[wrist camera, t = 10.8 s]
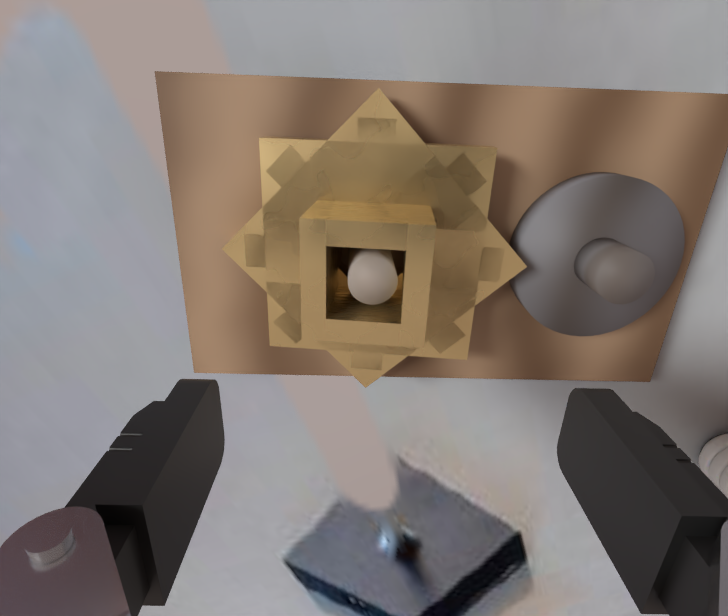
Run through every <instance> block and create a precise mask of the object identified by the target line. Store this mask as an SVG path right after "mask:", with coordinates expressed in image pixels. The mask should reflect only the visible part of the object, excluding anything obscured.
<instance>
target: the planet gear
mask: <svg viewBox="0 0 728 616" xmlns="http://www.w3.org/2000/svg"><path fill="white" fill-rule="evenodd" d="M259 150H260V169H261V188H262V208H261V209H260V210H259V211H258V212H257V213H256V214H255V215H254V216H253V217H252V218H251V219H250V220H249V221H248V222H247V223H246V224H245V225H244V226H243V227H242V228H241V230H240V231H239V232H238V233H237V234H236V235H235V236H234V237H233V238H232V239H231V240H230V241H229V242H228V243H227V244H226V245H225V246H224V247H223V248H222V250H223V251H224V252H225V253H226V254H227V255H228V256H229V257H231V258H232V259H233V260H234V261H235V262H236V263H237V264H238V265H239V266H240V267H241V268H242V269H243V270H244V271H245V272H246V273H247V274H248V275H249V276H250V277H251V278H252V279H253V280H254V281H255V282H256V283H258V284H259V285H260V286H261V287H262V288H263V289H264V290H265V291H266V292H267V303H268V322H269V341H270V346H278V347H292V348H306V349H320V350H327V351H328V352H329V353H330V354H331V355H332V356H333V357H334V358H335V359H336V360H337V361H338V362H339V363H340V364H342V365H343V366H344V367H345V368H346V369H347V370H348V371H349V372H350V373H351V374H352V375H353V376H354V377H355V378H356V379H357V380H358V381H359V382H360V383H361V384H362V385H363V386H364V387H365V388H366V387H367V386H369V385H370V384H371V383H373V382H374V381H375V380H377V379H378V378H379V377H381V376H382V375H383V374H385V373H386V372H387V371H389V370H390V369H391V368H393V367H394V366H395V365H397V364H398V363H399V362H401V361H402V360H403V359H405V358H406V357H407V356H418V357H432V358H446V359H460V360H467V357H468V350H469V343H470V336H471V329H472V322H473V315H474V308H475V305H477V304H478V303H479V302H481V301H482V300H483V299H485V298H486V297H487V296H489V295H490V294H491V293H493V292H494V291H495V290H497V289H498V288H499V287H501V286H502V285H503V284H505V283H506V282H507V281H509V280H510V279H511V278H513V277H514V276H515V275H517V274H518V273H519V272H521V271H522V270H523V269H525V268H526V267H527V266H526V265H525V263H524V262H523V261H522V260H521V258H520V257H519V256H518V255H517V254H516V252H515V251H514V250H513V249H512V248H511V246H510V245H509V244H508V243H507V242H506V240H505V239H504V238H503V237H502V236H501V234H500V233H499V232H498V231H497V230H496V228H495V227H494V226H493V225H492V223H491V222H490V221H489V220H488V219H487V217H488V210H489V203H490V196H491V189H492V182H493V175H494V168H495V161H496V154H497V147H494V146H482V145H458V144H434V143H424V142H423V140H422V139H421V138H420V137H419V136H418V134H417V133H416V132H415V131H414V129H413V128H412V127H411V126H410V125H409V123H408V122H407V121H406V120H405V119H404V117H403V116H402V115H401V114H400V113H399V111H398V110H397V109H396V108H395V107H394V105H393V104H392V103H391V102H390V101H389V99H388V98H387V97H386V96H385V95H384V93H383V92H382V91H381V90H380V89H379V88H378V89H377V90H376V91H375V92H374V93H373V94H372V95H371V96H370V97H369V98H368V99H367V100H366V101H365V102H364V103H363V104H362V105H361V106H360V107H359V108H358V109H357V110H356V111H355V112H354V114H353V115H352V116H351V117H350V118H349V119H348V120H347V121H346V122H345V123H344V124H343V125H342V126H341V127H340V128H339V129H338V130H337V131H336V132H335V133H334V134H333V135H332V136H331V137H330V138H329V139H317V138H293V137H270V136H266V137H260V138H259ZM342 247H350V248H368V249H385V250H403V251H404V257H403V265H402V266H401V267H399V268H398V269H397V270H396V273H397V278H398V283H397V288H396V290H395V292H394V294H393V295H392V296H391V297H390V298H389V299H388V300H387V301H385V302H383V303H380V304H375V305H370V304H365V303H362V302H360V301H358V300H357V299H356V298H354V296H353V295H352V294H351V292H350V290H349V287H348V267H347V266H346V265H345V264H344V262H343V261H342Z"/></svg>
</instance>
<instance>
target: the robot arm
mask: <svg viewBox="0 0 728 616" xmlns="http://www.w3.org/2000/svg"><path fill="white" fill-rule="evenodd" d="M223 452H224V428H223V419H222V411H221V402H220V393H219V386H218V383H217V381H216V380H207V379H180V380H179V381H178V382H177V384H176V385H175V387H174V388H173V390H172V391H171V393H170V394H169V395H168V397H167V398H166V400H165V401H153V402H152V403H150V404H149V405H148V406H146V407H145V408H143V409H142V410H140V411H139V412H138V413H136V414H135V415H133V417H132V418H131V419H130V421H129V422H128V423H127V425H126V426H125V427H124V429H123V430H122V431H121V434H120V436H118V437H117V438H116V439H115V441H114V442H113V443H112V445H111V446H110V450H109V451H106V453H105V454H104V455H103V457H102V458H101V459H100V461H99V462H98V463H97V465H96V466H95V467H94V469H93V470H92V471H91V473H90V474H89V475H88V477H87V478H86V480H85V481H84V482H83V484H82V485H81V486H80V488H79V489H78V490H77V492H76V493H75V494H74V496H73V497H72V498H71V500H70V501H69V502H68V504H67V505H66V506H65V508H61V509H57V510H53V511H51V512H48V513H45V514H43V515H41V516H38V517H36V518H35V519H33V520H31V521H29V522H27V523H26V524H25V525H23V526H22V527H20V528H19V529H18V530H16V531H15V532H14V533H13V534H12V535H11V536H10V537H9V538H8V539H7V540H6V541H5V542H4V543H3V544H2V546H1V547H0V616H138V614H139V612H140V609H141V607H142V605H150V606H165V603H166V601H167V598H168V596H169V593H170V591H171V588H172V586H173V583H174V580H175V578H176V575H177V573H178V570H179V568H180V565H181V563H182V560H183V558H184V555H185V553H186V550H187V548H188V545H189V543H190V540H191V538H192V535H193V533H194V530H195V528H196V525H197V523H198V520H199V518H200V515H201V513H202V510H203V507H204V505H205V502H206V500H207V497H208V495H209V492H210V490H211V487H212V485H213V482H214V480H215V477H216V475H217V472H218V470H219V467H220V465H221V461H222V457H223ZM557 456H558V462H559V466H560V469H561V471H562V473H563V475H564V477H565V478H566V480H567V482H568V484H569V486H570V487H571V489H572V491H573V493H574V494H575V496H576V498H577V500H578V502H579V503H580V505H581V507H582V509H583V511H584V512H585V514H586V516H587V518H588V520H589V521H590V523H591V525H592V527H593V529H594V530H595V532H596V534H597V536H598V538H599V539H600V541H601V543H602V545H603V546H604V548H605V550H606V552H607V554H608V555H609V557H610V559H611V561H612V563H613V564H614V566H615V568H616V570H617V572H618V573H619V575H620V577H621V579H622V581H623V582H624V584H625V586H626V588H627V589H628V591H629V593H630V595H631V597H632V598H633V600H634V602H635V604H636V606H637V607H638V609H639V611H640V613H641V614H669V616H728V498H727V497H726V496H725V495H724V494H723V493H722V492H721V491H720V490H719V489H718V488H717V487H716V486H715V485H714V484H713V483H712V481H711V480H710V479H709V478H708V477H707V476H706V475H705V474H704V473H703V472H702V471H701V470H700V469H699V468H698V467H697V466H696V465H695V464H694V463H691V459H690V458H689V457H688V456H687V455H686V454H685V453H684V452H683V451H682V450H681V449H680V448H677V446H676V443H675V442H674V441H673V440H672V439H671V438H670V437H669V436H668V435H667V434H666V433H665V432H664V431H663V430H662V429H661V428H660V427H659V426H658V425H656V424H654V423H653V422H651V421H650V420H648V419H647V418H645V417H644V416H642V415H640V414H639V413H637V412H632V411H631V410H630V408H629V407H628V406H627V405H626V404H625V403H624V402H623V401H622V400H621V398H620V397H619V396H618V395H617V394H616V393H615V392H614V391H613V390H611V389H587V388H576V389H574V390H572V392H571V393H570V396H569V399H568V403H567V407H566V411H565V415H564V419H563V423H562V428H561V432H560V436H559V440H558V445H557Z"/></svg>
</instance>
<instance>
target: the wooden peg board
mask: <svg viewBox="0 0 728 616" xmlns="http://www.w3.org/2000/svg"><path fill="white" fill-rule="evenodd" d="M155 77H156V85H157V92H158V100H159V108H160V114H161V123H162V131H163V138H164V146H165V154H166V161H167V169H168V177H169V184H170V192H171V199H172V207H173V215H174V222H175V230H176V238H177V245H178V253H179V260H180V268H181V276H182V283H183V291H184V299H185V306H186V314H187V321H188V329H189V337H190V344H191V352H192V360H193V367H194V373H234V374H286V375H287V374H289V375H336V376H338V375H339V376H353V375H352V374H351V373H350V372H349V371H348V370H347V369H346V368H345V367H344V366H343V365H342V364H340V363H339V362H338V361H337V360H336V359H335V358H334V357H333V356H332V355H331V354H330V353H329V352H328V351H327V350H320V349H306V348H292V347H278V346H270V341H269V322H268V303H267V292H266V291H265V290H264V289H263V288H262V287H261V286H260V285H259V284H258V283H256V282H255V281H254V280H253V279H252V278H251V277H250V276H249V275H248V274H247V273H246V272H245V271H244V270H243V269H242V268H241V267H240V266H239V265H238V264H237V263H236V262H235V261H234V260H233V259H232V258H231V257H229V256H228V255H227V254H226V253H225V252H224V251H223V250H222V248H223V247H224V246H225V245H226V244H227V243H228V242H229V241H230V240H231V239H232V238H233V237H234V236H235V235H236V234H237V233H238V232H239V231H240V230H241V228H242V227H243V226H244V225H245V224H246V223H247V222H248V221H249V220H250V219H251V218H252V217H253V216H254V215H255V214H256V213H257V212H258V211H259V210H260V209H261V208H262V188H261V169H260V150H259V138H260V137H266V136H270V137H293V138H317V139H329V138H330V137H331V136H332V135H333V134H334V133H335V132H336V131H337V130H338V129H339V128H340V127H341V126H342V125H343V124H344V123H345V122H346V121H347V120H348V119H349V118H350V117H351V116H352V115H353V114H354V112H355V111H356V110H357V109H358V108H359V107H360V106H361V105H362V104H363V103H364V102H365V101H366V100H367V99H368V98H369V97H370V96H371V95H372V94H373V93H374V92H375V91H376V90H377V89H378V88H379V89H380V90H381V91H382V92H383V93H384V95H385V96H386V97H387V98H388V99H389V101H390V102H391V103H392V104H393V105H394V107H395V108H396V109H397V110H398V111H399V113H400V114H401V115H402V116H403V117H404V119H405V120H406V121H407V122H408V123H409V125H410V126H411V127H412V128H413V129H414V131H415V132H416V133H417V134H418V136H419V137H420V138H421V139H422V140H423V142H424V143H434V144H458V145H482V146H494V147H497V154H496V161H495V168H494V175H493V182H492V189H491V196H490V203H489V210H488V217H487V219H488V220H489V221H490V222H491V223H492V225H493V226H494V227H495V228H496V230H497V231H498V232H499V233H500V234H501V236H502V237H503V238H504V239H505V240H506V242H507V243H508V244H509V245H510V246H511V248H512V249H513V250H514V251H515V252H516V254H517V255H518V256H519V257H520V258H521V260H522V261H523V262H524V263H525V265H526V266H527V267H526V268H525V269H523V270H522V271H521V272H519V273H518V274H517V275H515V276H514V277H513V278H511V279H510V280H509V281H507V282H506V283H505V284H503V285H502V286H501V287H499V288H498V289H497V290H495V291H494V292H493V293H491V294H490V295H489V296H487V297H486V298H485V299H483V300H482V301H481V302H479V303H478V304H477V305H475V308H474V315H473V322H472V329H471V336H470V343H469V350H468V357H467V360H460V359H446V358H432V357H418V356H407V357H406V358H405V359H403V360H402V361H401V362H399V363H398V364H397V365H395V366H394V367H393V368H391V369H390V370H389V371H387V372H386V373H385V374H383V375H382V376H385V377H436V378H486V379H537V380H587V381H637V382H650V380H651V377H652V374H653V371H654V368H655V365H656V362H657V359H658V356H659V353H660V350H661V347H662V344H663V341H664V338H665V335H666V332H667V329H668V326H669V323H670V320H671V317H672V314H673V311H674V308H675V305H676V302H677V298H678V295H679V292H680V289H681V286H682V283H683V280H684V277H685V274H686V271H687V268H688V265H689V262H690V259H691V256H692V253H693V250H694V247H695V244H696V241H697V238H698V235H699V232H700V229H701V226H702V223H703V220H704V217H705V214H706V211H707V208H708V205H709V202H710V199H711V196H712V193H713V190H714V187H715V184H716V181H717V178H718V175H719V172H720V169H721V166H722V163H723V160H724V157H725V154H726V151H727V147H728V94H713V93H688V92H662V91H637V90H612V89H587V88H561V87H536V86H511V85H486V84H460V83H435V82H410V81H385V80H360V79H334V78H309V77H284V76H259V75H233V74H208V73H183V72H158V71H157V72H156V71H155ZM403 257H404V251H403V250H385V249H368V248H350V247H342V261H343V262H344V264H345V265H346V266H347V267H348V287H349V290H350V292H351V294H352V295H353V296H354V298H356V299H357V300H358V301H360V302H362V303H365V304H370V305H375V304H380V303H383V302H385V301H387V300H388V299H389V298H390V297H391V296H392V295H393V294H394V292H395V290H396V288H397V283H398V278H397V273H396V270H397V269H398V268H399V267H401V266H402V265H403Z"/></svg>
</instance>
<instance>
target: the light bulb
mask: <svg viewBox="0 0 728 616" xmlns="http://www.w3.org/2000/svg"><path fill="white" fill-rule="evenodd" d="M698 462H699V466H700V469H701V471H702V472H703V473H704V474H705V475H706V476H707V477H708V478H709V479H711V481H712V482H713V483H714V484H715V485H716V486H717V487H718V488H719V489H720V490H722V492H723V493H724V495H725V496H726V497H727V498H728V434H723V435H720V436H717V437H715V438H713V439H711V440H710V441H709V442H707V443H706V444H705V446H704V447H703V449H702V451H701V453H700V455H699V460H698Z"/></svg>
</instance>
